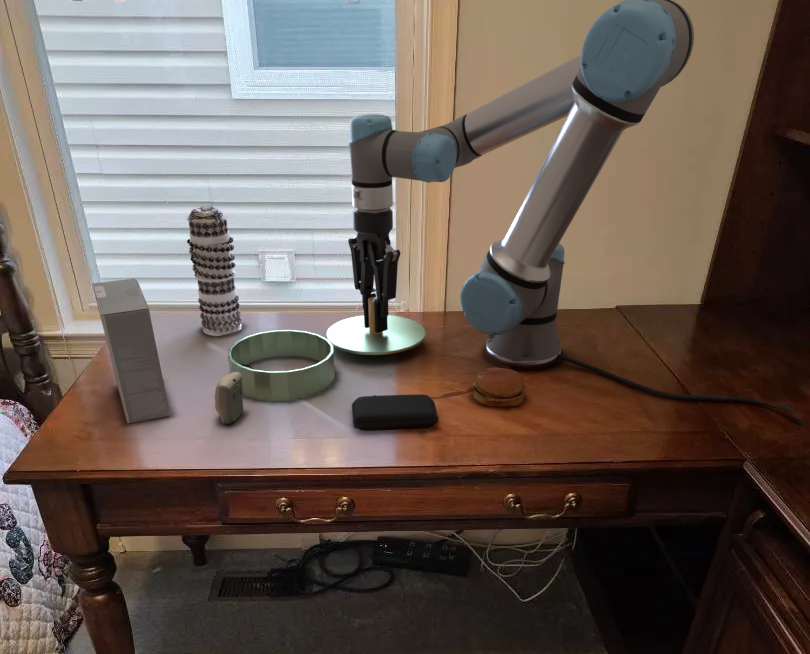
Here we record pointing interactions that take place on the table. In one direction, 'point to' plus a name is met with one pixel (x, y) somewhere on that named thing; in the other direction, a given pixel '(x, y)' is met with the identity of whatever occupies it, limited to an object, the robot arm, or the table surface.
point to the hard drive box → (132, 349)
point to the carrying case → (394, 412)
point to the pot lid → (375, 334)
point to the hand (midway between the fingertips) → (375, 328)
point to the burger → (499, 387)
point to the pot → (282, 382)
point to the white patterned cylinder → (214, 270)
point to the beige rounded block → (229, 398)
